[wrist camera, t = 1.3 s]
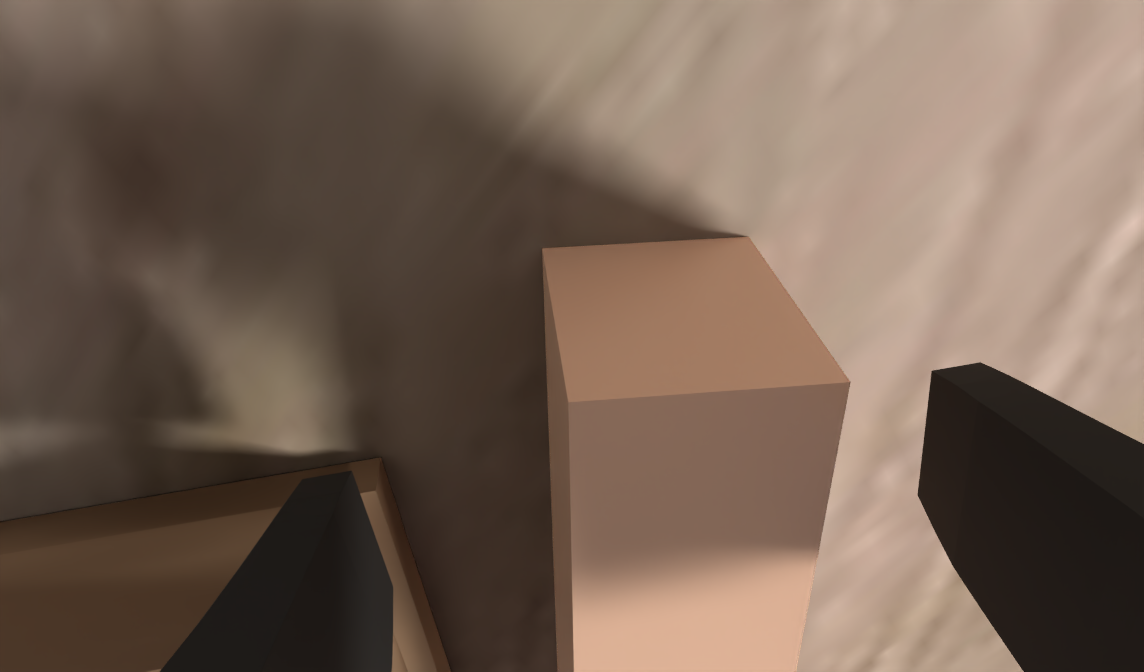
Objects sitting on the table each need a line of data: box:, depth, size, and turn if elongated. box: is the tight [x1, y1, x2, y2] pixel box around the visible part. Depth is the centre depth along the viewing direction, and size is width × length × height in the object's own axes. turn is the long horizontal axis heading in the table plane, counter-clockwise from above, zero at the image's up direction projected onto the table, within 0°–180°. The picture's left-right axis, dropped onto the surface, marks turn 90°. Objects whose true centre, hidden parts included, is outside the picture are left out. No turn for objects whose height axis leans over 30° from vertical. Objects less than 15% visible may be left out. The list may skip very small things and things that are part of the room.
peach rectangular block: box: [542, 237, 850, 672], centre depth 13 cm, size 10×3×4 cm, turn 1°
